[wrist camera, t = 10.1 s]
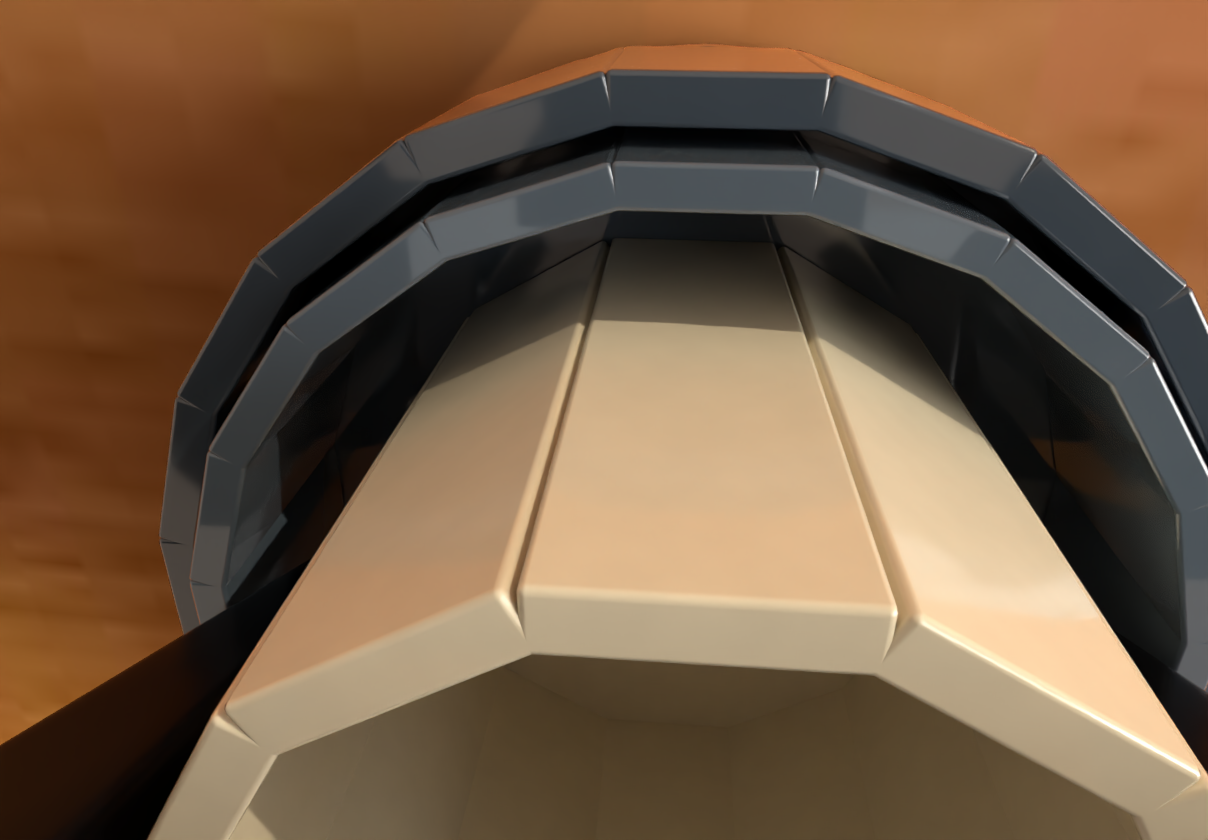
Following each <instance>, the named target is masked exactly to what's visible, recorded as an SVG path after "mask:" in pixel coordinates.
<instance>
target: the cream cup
mask: <svg viewBox="0 0 1208 840" xmlns="http://www.w3.org/2000/svg"><path fill="white" fill-rule="evenodd" d="M146 840H1208V774H1207V773H1206V771H1205V770H1204V768H1203V766H1202V765H1201V763H1200V762H1199V760H1198V759H1197V757H1196V756H1195V754H1194V753H1193V751H1192V750H1191V748H1190V747H1189V745H1188V744H1187V742H1186V741H1185V739H1184V738H1183V736H1182V734H1181V733H1180V731H1179V730H1178V728H1177V727H1176V725H1175V724H1174V722H1173V721H1172V719H1171V718H1170V716H1169V715H1168V713H1167V712H1166V710H1165V709H1164V707H1163V706H1162V704H1161V703H1160V701H1159V699H1158V698H1157V696H1156V695H1155V693H1154V692H1153V690H1152V689H1151V687H1150V686H1149V684H1148V683H1147V681H1146V680H1145V678H1144V677H1143V675H1142V674H1141V672H1140V671H1139V669H1138V668H1137V666H1136V664H1135V663H1134V661H1133V660H1132V658H1131V657H1130V655H1129V654H1128V652H1127V651H1126V649H1125V648H1124V646H1123V645H1122V643H1121V642H1120V640H1119V639H1118V637H1117V636H1116V634H1115V632H1114V631H1113V629H1112V628H1111V626H1110V625H1109V623H1108V622H1107V620H1106V619H1105V617H1104V616H1103V614H1102V613H1101V611H1100V610H1099V608H1098V607H1097V605H1096V604H1095V602H1094V601H1093V599H1092V597H1091V596H1090V594H1089V593H1088V591H1087V590H1086V588H1085V587H1084V585H1083V584H1082V582H1081V581H1080V579H1079V578H1078V576H1077V575H1076V573H1075V572H1074V570H1073V569H1072V567H1071V566H1070V564H1069V562H1068V561H1067V559H1066V558H1065V556H1064V555H1063V553H1062V552H1061V550H1060V549H1059V547H1058V546H1057V544H1056V543H1055V541H1054V540H1053V538H1052V537H1051V535H1050V534H1049V532H1048V530H1047V529H1046V527H1045V526H1044V524H1043V523H1042V521H1041V520H1040V518H1039V517H1038V515H1037V514H1036V512H1035V511H1034V509H1033V508H1032V506H1031V505H1030V503H1029V502H1028V500H1027V499H1026V497H1025V495H1024V494H1023V492H1022V491H1021V489H1020V488H1019V486H1018V485H1017V483H1016V482H1015V480H1014V479H1013V477H1012V476H1011V474H1010V473H1009V471H1008V470H1007V468H1006V467H1005V465H1004V464H1003V462H1002V460H1001V459H1000V457H999V456H998V454H997V453H996V451H995V450H994V448H993V447H992V445H991V444H990V442H989V441H988V439H987V438H986V436H985V435H984V433H983V432H982V430H981V428H980V427H979V425H978V424H977V422H976V421H975V419H974V418H973V416H972V415H971V413H970V412H969V410H968V409H967V407H966V406H965V404H964V403H963V401H962V400H961V398H960V397H959V395H958V393H957V392H956V390H955V389H954V387H953V386H952V384H951V383H950V381H949V380H948V378H947V377H946V375H945V374H944V372H943V371H942V369H941V368H940V366H939V365H938V363H937V362H936V360H935V358H934V357H933V355H932V354H931V352H930V351H929V349H928V348H927V346H926V345H925V343H924V342H923V340H922V339H921V337H920V336H919V335H918V334H917V333H915V332H914V330H913V329H912V327H911V325H909V324H908V323H906V322H905V321H903V320H901V319H900V318H898V317H897V316H895V315H893V314H892V313H890V312H889V311H887V310H885V309H884V308H882V307H881V306H879V305H877V304H876V303H874V302H873V301H871V300H869V299H868V298H866V297H865V296H863V295H861V294H860V293H858V292H857V291H855V290H854V289H852V288H850V287H849V286H847V285H846V284H844V283H842V282H841V281H839V280H838V279H836V278H834V277H833V276H831V275H830V274H828V273H826V272H825V271H823V270H822V269H820V268H818V267H817V266H815V265H814V264H812V263H810V262H809V261H807V260H806V259H804V258H802V257H801V256H799V255H798V254H796V253H794V252H793V251H791V250H790V249H788V248H787V247H781V248H779V249H778V251H776V248H775V245H774V244H773V243H765V242H731V241H698V240H664V239H631V238H615V239H613V240H612V242H611V245H610V247H609V245H608V243H606V242H605V241H602V242H599V243H597V244H596V245H594V246H592V247H590V248H588V249H586V250H584V251H583V252H581V253H579V254H577V255H575V256H573V257H571V258H570V259H568V260H566V261H564V262H562V263H560V264H558V265H557V266H555V267H553V268H551V269H549V270H547V271H545V272H544V273H542V274H540V275H538V276H536V277H534V278H532V279H531V280H529V281H527V282H525V283H523V284H521V285H519V286H517V287H516V288H514V289H512V290H510V291H508V292H506V293H504V294H503V295H501V296H499V297H497V298H495V299H493V300H491V301H490V302H488V303H486V304H484V305H482V306H480V307H478V308H477V309H475V310H474V311H473V313H472V314H471V316H470V317H467V318H466V319H465V320H464V321H463V323H462V325H461V326H460V328H459V329H458V331H457V332H456V334H455V335H454V337H453V339H452V340H451V342H450V343H449V345H448V346H447V348H446V350H445V351H444V353H443V354H442V356H441V357H440V359H439V360H438V362H437V364H436V365H435V367H434V368H433V370H432V371H431V373H430V375H429V376H428V378H427V379H426V381H425V382H424V384H423V385H422V387H421V389H420V390H419V392H418V393H417V395H416V396H415V398H414V400H413V401H412V403H411V404H410V406H409V407H408V409H407V410H406V412H405V414H404V415H403V417H402V418H401V420H400V421H399V423H398V424H397V426H396V428H395V429H394V431H393V432H392V434H391V435H390V437H389V439H388V440H387V442H386V443H385V445H384V446H383V448H382V449H381V451H380V453H379V454H378V456H377V457H376V459H375V460H374V462H373V464H372V465H371V467H370V468H369V470H368V471H367V473H366V474H365V476H364V478H363V479H362V481H361V482H360V484H359V485H358V487H357V489H356V490H355V492H354V493H353V495H352V496H351V498H350V499H349V501H348V503H347V504H346V506H345V507H344V509H343V510H342V512H341V514H340V515H339V517H338V518H337V520H336V521H335V523H334V524H333V526H332V528H331V529H330V531H329V532H328V534H327V535H326V537H325V538H324V540H323V542H322V543H321V545H320V546H319V548H318V549H317V551H316V553H315V554H314V556H313V557H312V559H311V560H310V562H309V563H308V565H307V567H306V568H305V570H304V571H303V573H302V574H301V576H300V578H299V579H298V581H297V582H296V584H295V585H294V587H293V588H292V590H291V592H290V593H289V595H288V596H287V598H286V599H285V601H284V603H283V604H282V606H281V607H280V609H279V610H278V612H277V613H276V615H275V617H274V618H273V620H272V621H271V623H270V624H269V626H268V627H267V629H266V631H265V632H264V634H263V635H262V637H261V638H260V640H259V642H258V643H257V645H256V646H255V648H254V649H253V651H252V652H251V654H250V656H249V657H248V659H247V660H246V662H245V663H244V665H243V667H242V668H241V670H240V671H239V673H238V674H237V676H236V677H235V679H234V681H233V682H232V684H231V685H230V687H229V688H228V690H227V692H226V693H225V695H224V696H223V698H222V699H221V701H220V702H219V704H218V706H217V707H216V709H215V710H214V712H213V713H212V715H211V717H210V718H209V720H208V722H207V724H206V726H205V728H204V730H203V732H202V734H201V736H200V738H199V740H198V742H197V743H196V745H195V747H194V749H193V751H192V753H191V755H190V757H189V759H188V761H187V763H186V765H185V766H184V768H183V770H182V772H181V774H180V776H179V778H178V780H177V782H176V784H175V786H174V788H173V789H172V791H171V793H170V795H169V797H168V799H167V801H166V803H165V805H164V807H163V809H162V811H161V812H160V814H159V816H158V818H157V820H156V822H155V824H154V826H153V828H152V830H151V832H150V834H149V835H148V837H147V839H146Z"/></svg>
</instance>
